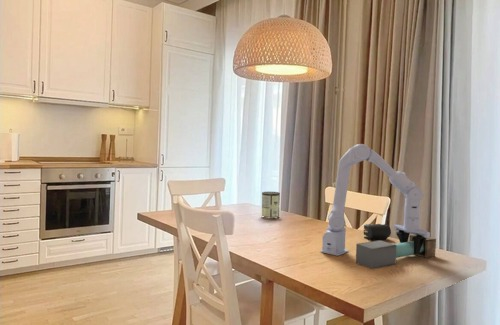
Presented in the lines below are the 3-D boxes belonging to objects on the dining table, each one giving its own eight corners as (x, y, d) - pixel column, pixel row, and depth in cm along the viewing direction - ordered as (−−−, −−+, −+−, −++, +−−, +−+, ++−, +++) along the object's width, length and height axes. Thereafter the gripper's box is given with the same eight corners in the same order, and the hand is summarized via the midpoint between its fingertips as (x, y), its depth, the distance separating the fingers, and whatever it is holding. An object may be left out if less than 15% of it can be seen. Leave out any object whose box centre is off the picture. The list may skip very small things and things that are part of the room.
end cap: (372, 241, 170) (372, 226, 170) (362, 237, 177) (363, 223, 177) (390, 240, 174) (391, 225, 173) (380, 236, 180) (381, 222, 180)
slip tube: (386, 262, 138) (387, 248, 138) (376, 258, 142) (376, 244, 142) (428, 253, 150) (429, 241, 150) (417, 250, 154) (417, 238, 154)
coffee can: (266, 214, 229) (267, 190, 228) (282, 216, 223) (283, 192, 222) (258, 217, 220) (258, 192, 219) (273, 219, 214) (274, 194, 214)
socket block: (426, 258, 147) (427, 240, 147) (409, 252, 154) (409, 235, 154) (435, 256, 150) (436, 238, 149) (417, 251, 157) (417, 234, 156)
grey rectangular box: (372, 269, 133) (372, 249, 132) (355, 262, 139) (356, 243, 139) (395, 264, 139) (396, 245, 138) (378, 258, 145) (379, 240, 145)
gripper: (435, 219, 143) (434, 255, 144) (403, 213, 156) (401, 246, 157) (423, 221, 140) (422, 258, 140) (391, 214, 152) (389, 248, 153)
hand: (410, 252), depth 148 cm, fingers closed on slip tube, 5 cm apart
